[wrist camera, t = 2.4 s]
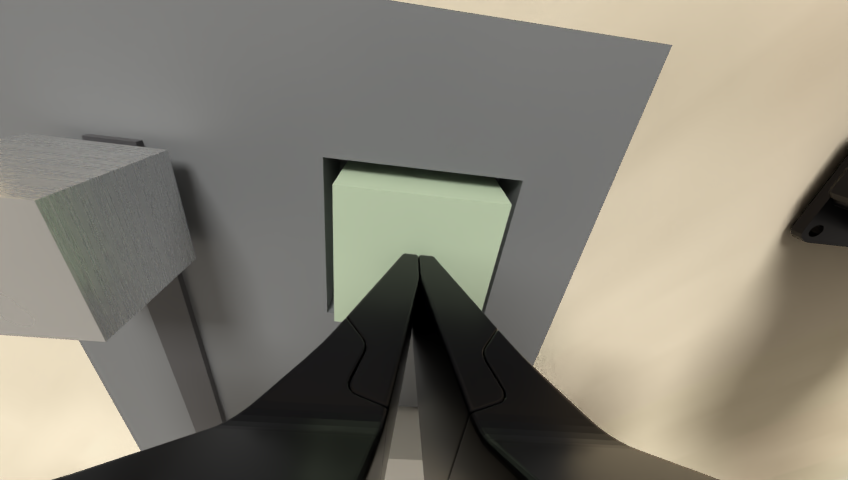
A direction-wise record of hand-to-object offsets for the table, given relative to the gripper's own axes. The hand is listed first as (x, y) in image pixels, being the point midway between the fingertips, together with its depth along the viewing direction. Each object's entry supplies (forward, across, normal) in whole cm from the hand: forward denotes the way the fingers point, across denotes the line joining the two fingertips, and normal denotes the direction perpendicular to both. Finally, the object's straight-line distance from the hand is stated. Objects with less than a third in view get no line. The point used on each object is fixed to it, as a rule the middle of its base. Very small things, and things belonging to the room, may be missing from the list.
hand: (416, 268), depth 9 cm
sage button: (+3, 0, 0) cm, 3 cm away
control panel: (+4, +3, +5) cm, 7 cm away
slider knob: (0, +8, -1) cm, 8 cm away
